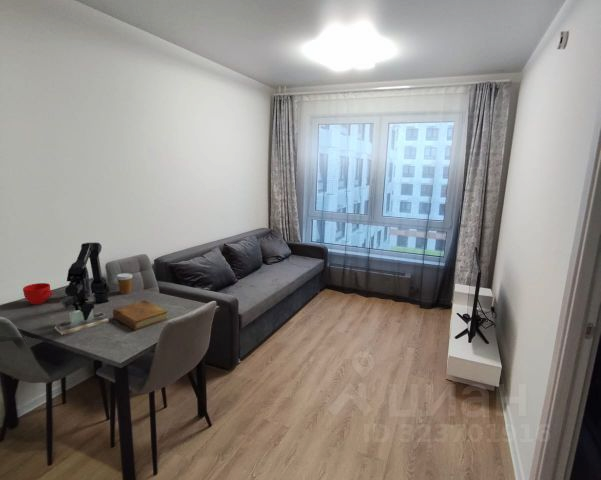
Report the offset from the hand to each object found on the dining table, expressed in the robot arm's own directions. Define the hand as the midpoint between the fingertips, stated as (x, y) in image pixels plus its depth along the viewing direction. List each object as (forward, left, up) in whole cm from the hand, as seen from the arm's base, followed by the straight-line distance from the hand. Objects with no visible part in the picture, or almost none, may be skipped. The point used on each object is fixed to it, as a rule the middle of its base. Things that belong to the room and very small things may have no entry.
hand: (82, 317), depth 185 cm
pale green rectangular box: (0, 0, -3) cm, 3 cm away
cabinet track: (0, 0, -4) cm, 4 cm away
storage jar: (-15, -43, -4) cm, 46 cm away
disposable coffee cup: (-37, -32, -4) cm, 49 cm away
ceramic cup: (+5, -48, -4) cm, 48 cm away
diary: (-24, +14, -5) cm, 28 cm away
